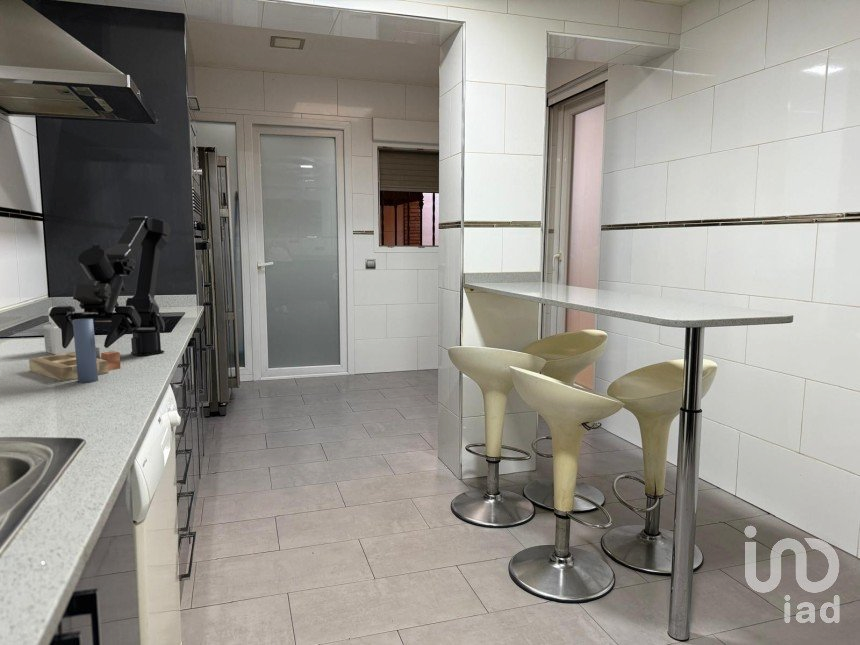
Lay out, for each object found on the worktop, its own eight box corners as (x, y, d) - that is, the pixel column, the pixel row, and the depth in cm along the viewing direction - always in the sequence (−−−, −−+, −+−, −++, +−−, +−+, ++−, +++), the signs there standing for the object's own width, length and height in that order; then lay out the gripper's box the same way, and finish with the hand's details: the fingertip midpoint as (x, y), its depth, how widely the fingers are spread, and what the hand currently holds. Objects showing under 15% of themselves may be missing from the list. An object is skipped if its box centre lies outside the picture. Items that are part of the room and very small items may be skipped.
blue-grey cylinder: (93, 377, 141) (87, 318, 139) (101, 380, 138) (96, 319, 136) (74, 381, 137) (69, 320, 135) (83, 383, 135) (77, 321, 133)
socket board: (91, 360, 159) (90, 345, 159) (126, 369, 149) (125, 353, 148) (29, 370, 148) (28, 354, 147) (63, 381, 137) (62, 363, 137)
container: (74, 348, 178) (70, 304, 176) (85, 351, 173) (81, 305, 171) (45, 352, 172) (40, 306, 170) (55, 355, 167) (51, 308, 165)
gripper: (49, 271, 139) (24, 326, 130) (132, 271, 140) (112, 325, 130) (71, 302, 148) (49, 355, 139) (149, 301, 149) (131, 354, 139)
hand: (84, 347), depth 137 cm, fingers open, 9 cm apart
